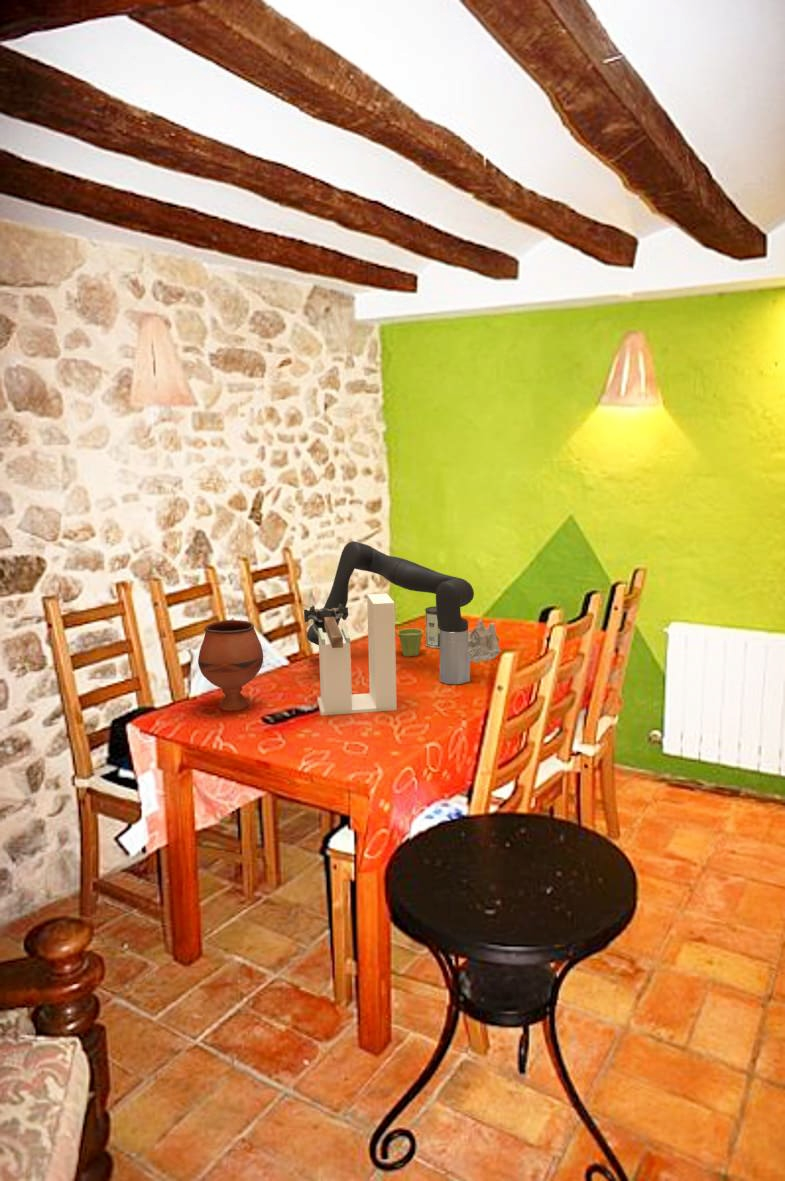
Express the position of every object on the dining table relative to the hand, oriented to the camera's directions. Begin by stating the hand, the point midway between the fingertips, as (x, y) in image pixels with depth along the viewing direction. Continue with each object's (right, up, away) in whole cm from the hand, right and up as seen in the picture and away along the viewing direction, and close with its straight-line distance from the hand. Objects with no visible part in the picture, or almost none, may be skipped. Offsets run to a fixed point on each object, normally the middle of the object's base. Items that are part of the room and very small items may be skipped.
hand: (327, 607), depth 254 cm
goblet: (-27, -29, -14) cm, 42 cm away
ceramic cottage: (+51, -19, +35) cm, 65 cm away
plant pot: (+27, -18, +39) cm, 51 cm away
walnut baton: (+3, -8, -18) cm, 20 cm away
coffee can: (+38, -16, +51) cm, 66 cm away
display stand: (+10, -29, -15) cm, 34 cm away
